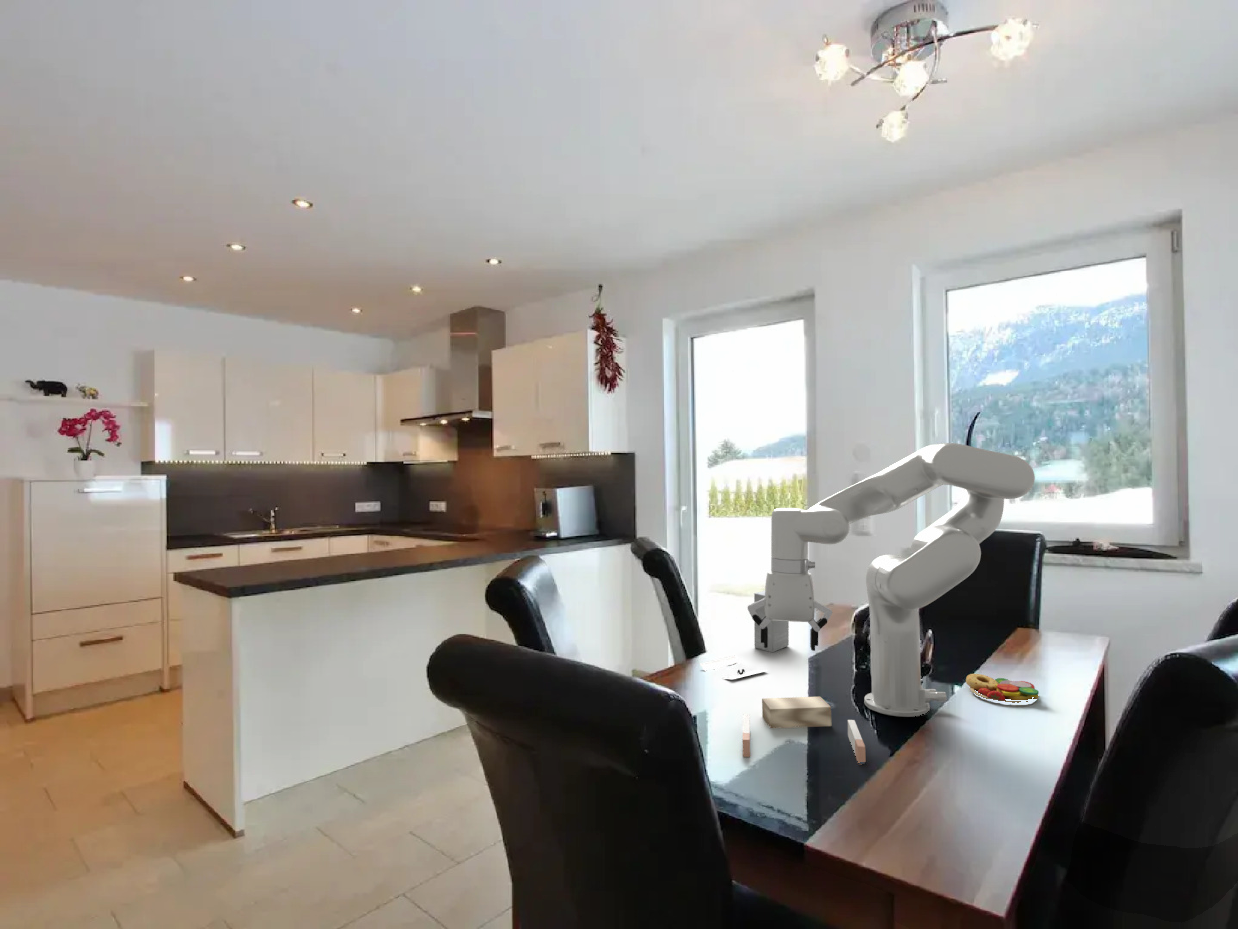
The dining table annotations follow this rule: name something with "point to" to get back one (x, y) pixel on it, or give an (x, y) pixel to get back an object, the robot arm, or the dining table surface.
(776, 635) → the skincare box
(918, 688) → the robot arm
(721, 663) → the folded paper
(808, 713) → the birch block
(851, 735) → the walled lane
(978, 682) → the toy food set
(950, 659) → the dining table surface
